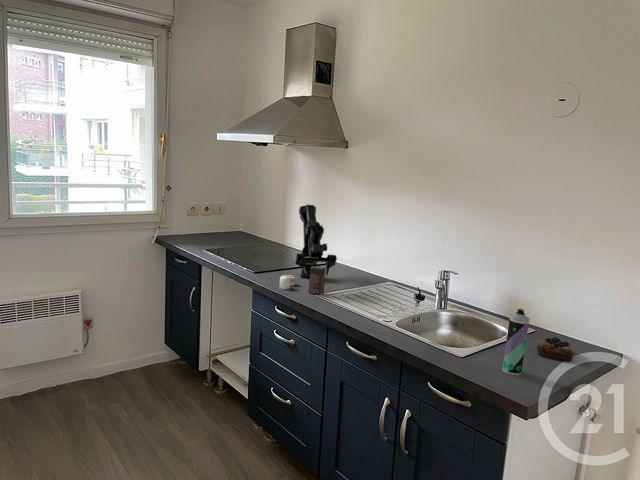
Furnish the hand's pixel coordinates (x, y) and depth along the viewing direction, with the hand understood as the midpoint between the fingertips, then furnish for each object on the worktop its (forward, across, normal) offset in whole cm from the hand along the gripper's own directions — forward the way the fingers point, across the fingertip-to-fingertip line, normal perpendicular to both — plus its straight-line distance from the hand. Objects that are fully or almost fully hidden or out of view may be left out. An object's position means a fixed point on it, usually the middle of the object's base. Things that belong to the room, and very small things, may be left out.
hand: (317, 275), depth 219 cm
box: (+6, 0, +6) cm, 9 cm away
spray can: (+65, +47, -52) cm, 96 cm away
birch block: (-4, -11, +16) cm, 20 cm away
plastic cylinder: (0, -14, +11) cm, 18 cm away
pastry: (+56, +72, -43) cm, 100 cm away
